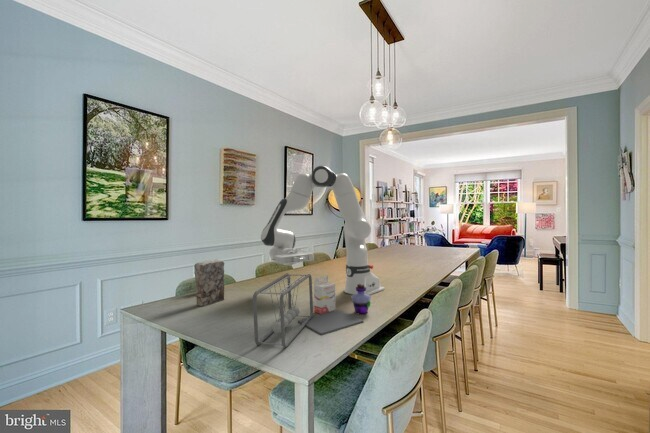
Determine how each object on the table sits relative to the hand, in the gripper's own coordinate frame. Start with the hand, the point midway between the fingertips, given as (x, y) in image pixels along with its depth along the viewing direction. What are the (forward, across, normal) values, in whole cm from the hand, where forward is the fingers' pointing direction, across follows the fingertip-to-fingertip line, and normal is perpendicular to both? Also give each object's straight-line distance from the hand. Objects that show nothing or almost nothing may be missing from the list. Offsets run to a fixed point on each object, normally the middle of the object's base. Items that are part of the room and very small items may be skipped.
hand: (302, 259), depth 148 cm
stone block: (-27, -36, +20) cm, 49 cm away
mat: (+30, -6, +20) cm, 37 cm away
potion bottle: (+29, +11, +20) cm, 37 cm away
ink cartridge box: (+18, 0, +20) cm, 27 cm away
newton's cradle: (+28, -24, +20) cm, 41 cm away
